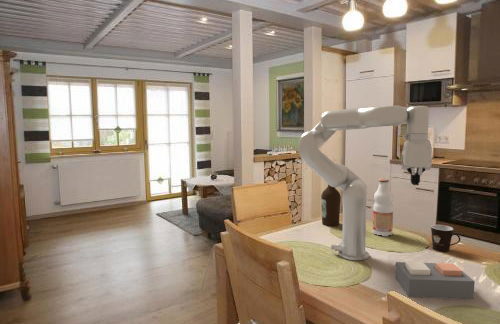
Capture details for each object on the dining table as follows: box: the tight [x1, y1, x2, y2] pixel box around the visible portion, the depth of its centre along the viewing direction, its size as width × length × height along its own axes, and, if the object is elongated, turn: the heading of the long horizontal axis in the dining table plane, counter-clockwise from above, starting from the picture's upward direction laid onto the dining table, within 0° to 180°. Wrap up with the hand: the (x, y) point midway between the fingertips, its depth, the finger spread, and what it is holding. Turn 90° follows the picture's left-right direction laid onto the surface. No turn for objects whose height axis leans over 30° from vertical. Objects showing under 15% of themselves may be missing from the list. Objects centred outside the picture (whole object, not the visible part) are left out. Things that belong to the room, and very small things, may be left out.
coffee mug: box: [430, 224, 461, 253], centre depth 152 cm, size 12×9×10 cm
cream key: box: [405, 261, 430, 275], centre depth 119 cm, size 6×6×4 cm
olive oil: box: [320, 184, 342, 227], centre depth 194 cm, size 11×11×25 cm
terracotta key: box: [434, 262, 463, 276], centre depth 118 cm, size 6×6×4 cm
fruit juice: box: [372, 178, 394, 237], centre depth 175 cm, size 9×9×28 cm
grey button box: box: [394, 261, 475, 300], centre depth 119 cm, size 20×14×6 cm
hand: (415, 184), depth 137 cm, fingers closed
